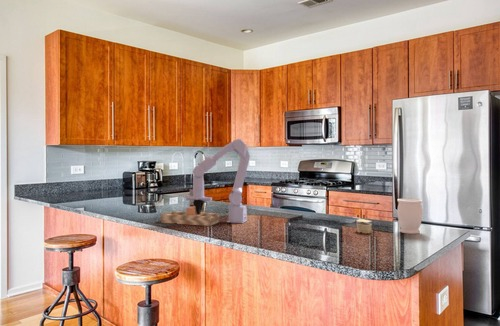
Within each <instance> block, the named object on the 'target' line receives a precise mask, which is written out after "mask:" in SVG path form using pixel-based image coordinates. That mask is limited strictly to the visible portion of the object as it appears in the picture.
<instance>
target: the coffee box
mask: <svg viewBox="0 0 500 326" xmlns="http://www.w3.org/2000/svg"><path fill="white" fill-rule="evenodd" d="M189 197H193V188H190V189H189ZM194 200H201V199H194ZM193 202H194V201H192V200H189V207H195V205H194V204H193ZM205 211H206V209H205V203H204V204H203V206H202V209H201V213H206V212H205Z"/></svg>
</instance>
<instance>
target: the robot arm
mask: <svg viewBox="0 0 500 326" xmlns="http://www.w3.org/2000/svg"><path fill="white" fill-rule="evenodd" d="M231 152H236V154H237V155H238V156H239V158H240V159H239V162H238V166H237V171H236V175H235V179H234V184H233V187H232V189H231V191H230V193H229V195H228V200H229V203H228V219H227V220H226V221H225V222H226V223H234V224H235V223H236V224H243V223H245V222H247V221H248V209H247V208H248V207H247V205H244V204H243V203H242V202H243V197H242V194H243V188H244V182H245V178H246V174H247V169H248V166H249V161H250V156H251V155H250V153H249V150H248V145H247V144H246V142H245V141H244V140H243V139H242V138H241V139H240V138H238V139H237V138H236V139H234V140H233V141H230V142H229V143H227V144H226V145H224V146H223V147H222V148H221V149H219V150H218V151H217V152H216V153H215V154H214V155H212V156H210V155H209V156H206V157H205V158H204V160H202V161H201V162H198V164H197V165H196V166H194V168H193V169H192V174H193V177H192V179H193V180H192V189H193V197H190V196H185V201H190V200H192V201H194V202H193V204H194V205H195V207H196V210H197V214H198V215H200V214H201V209H202V206H203V204H204V205H205V202H213V196H212V197H209V196H205V180H204V175H205V173H208V172H209V171H210V170H211V169H212V168H213V167H215V166H216V164H217V161H218V160H220V159H221V158H223V157H224V155H226V154H227V153H231ZM194 199H201V200H194Z"/></svg>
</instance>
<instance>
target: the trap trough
mask: <svg viewBox="0 0 500 326" xmlns="http://www.w3.org/2000/svg"><path fill="white" fill-rule="evenodd" d="M219 222H220V213H218V212H216V213H213V212H205V213H201V214H200V216H190V215H187V214H186V211H177V210H176V211H175V210H170V211H168V212H163V213H161V214H160V223H161V224H174V223H177V225H191V226H192V225H193V226H205V227H207V226H208V227H211V226H213V225H216V224H218V223H219Z"/></svg>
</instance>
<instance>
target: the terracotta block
mask: <svg viewBox="0 0 500 326" xmlns="http://www.w3.org/2000/svg"><path fill="white" fill-rule="evenodd" d="M185 210H186V211H185V212H186V214H187V215H190V216H200V215H198V214H197V210H196V207H190V206H189V207H186V208H185Z"/></svg>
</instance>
